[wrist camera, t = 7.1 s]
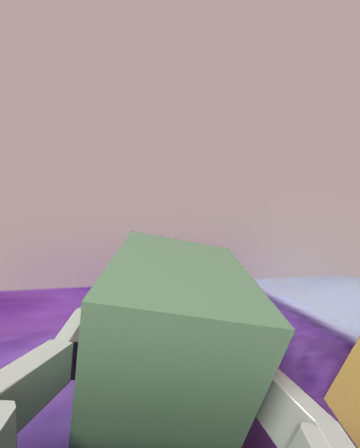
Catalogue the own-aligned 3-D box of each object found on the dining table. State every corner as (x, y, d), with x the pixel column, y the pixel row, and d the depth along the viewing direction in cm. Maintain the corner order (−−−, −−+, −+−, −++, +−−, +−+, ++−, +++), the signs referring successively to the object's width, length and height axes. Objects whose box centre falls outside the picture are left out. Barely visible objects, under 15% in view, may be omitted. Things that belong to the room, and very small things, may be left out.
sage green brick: (111, 368, 11) (131, 230, 8) (189, 375, 11) (228, 248, 9) (62, 525, 6) (81, 301, 4) (205, 525, 6) (295, 330, 4)
